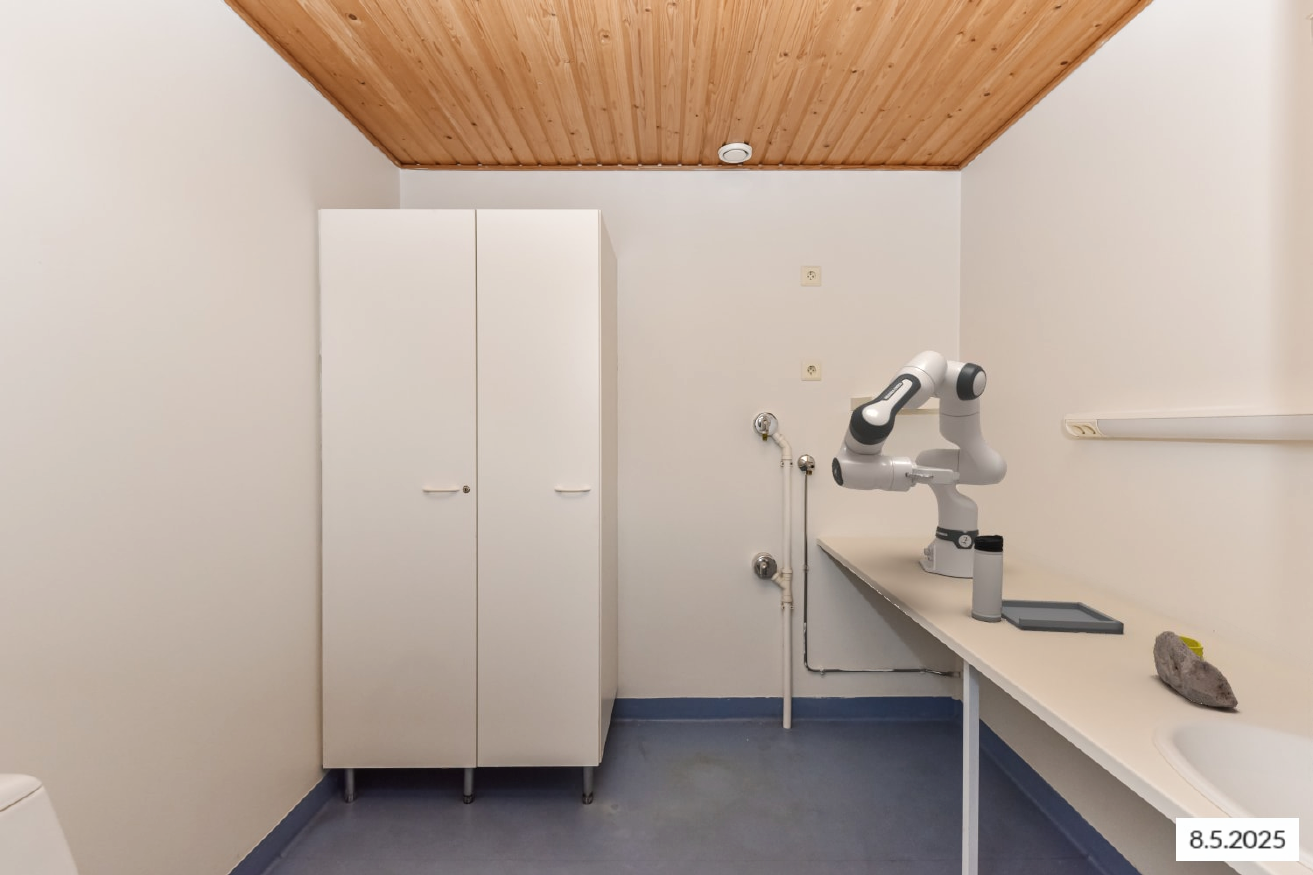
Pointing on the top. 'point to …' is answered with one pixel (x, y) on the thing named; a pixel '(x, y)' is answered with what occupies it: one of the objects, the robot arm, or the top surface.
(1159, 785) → the top surface
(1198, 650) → the bracelet
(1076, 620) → the slate tray
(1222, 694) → the pumice stone
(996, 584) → the travel mug
